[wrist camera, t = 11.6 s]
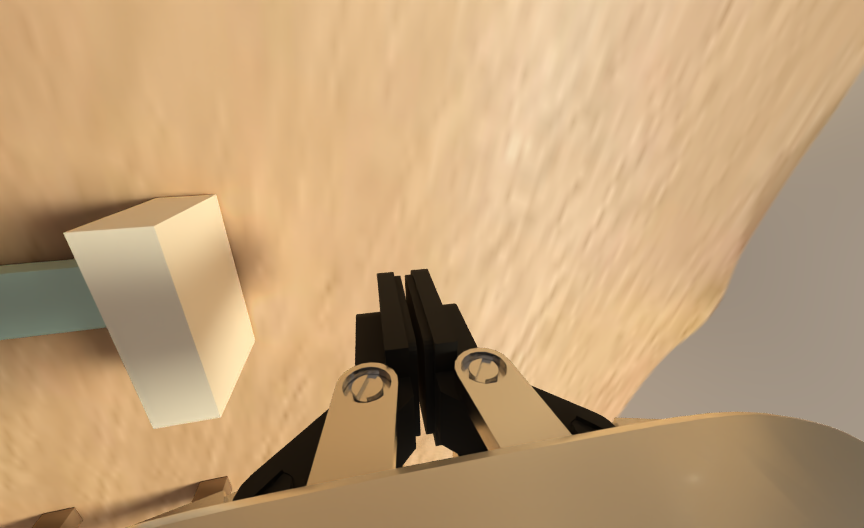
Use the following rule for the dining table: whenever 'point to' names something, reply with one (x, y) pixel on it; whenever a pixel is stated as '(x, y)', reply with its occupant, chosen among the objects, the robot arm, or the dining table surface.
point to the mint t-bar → (146, 302)
